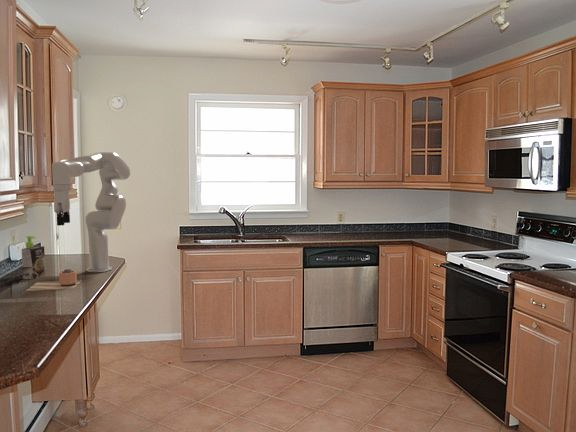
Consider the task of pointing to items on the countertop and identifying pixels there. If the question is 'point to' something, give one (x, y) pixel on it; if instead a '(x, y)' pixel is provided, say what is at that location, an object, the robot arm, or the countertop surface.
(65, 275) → the collar
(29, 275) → the coffee box
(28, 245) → the soap dispenser
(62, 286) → the post board
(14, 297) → the countertop surface
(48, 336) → the countertop surface
